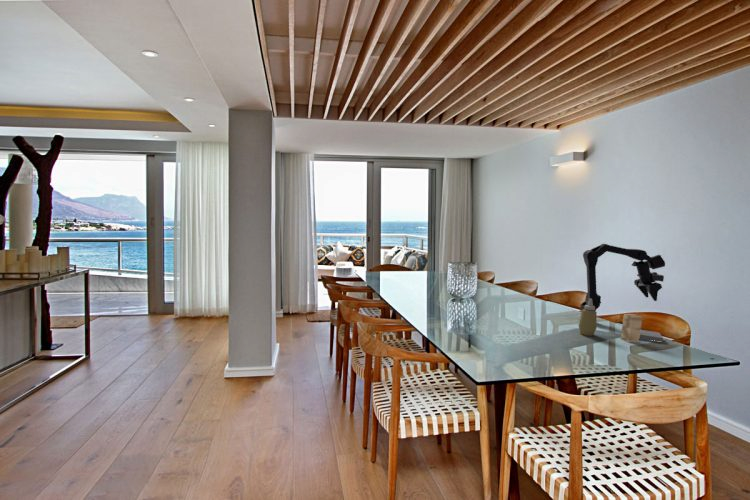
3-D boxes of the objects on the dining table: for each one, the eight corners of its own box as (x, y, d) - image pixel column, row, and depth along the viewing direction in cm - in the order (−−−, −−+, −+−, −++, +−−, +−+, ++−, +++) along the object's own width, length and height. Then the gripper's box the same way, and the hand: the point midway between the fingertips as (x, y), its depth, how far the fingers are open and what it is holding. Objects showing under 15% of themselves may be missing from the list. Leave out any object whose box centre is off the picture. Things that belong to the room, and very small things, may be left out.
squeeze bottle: (595, 333, 225) (599, 298, 223) (595, 337, 218) (600, 301, 216) (577, 330, 229) (581, 296, 227) (577, 334, 222) (581, 298, 220)
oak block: (620, 338, 219) (623, 313, 218) (630, 339, 220) (634, 314, 219) (628, 342, 214) (632, 316, 213) (638, 342, 215) (642, 317, 213)
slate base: (636, 339, 221) (637, 334, 221) (633, 333, 231) (634, 328, 231) (662, 343, 217) (663, 338, 216) (658, 337, 227) (659, 332, 226)
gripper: (668, 270, 234) (676, 298, 235) (650, 265, 253) (658, 291, 254) (646, 276, 236) (654, 304, 237) (630, 270, 254) (637, 297, 255)
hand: (651, 299), depth 245 cm, fingers open, 9 cm apart
